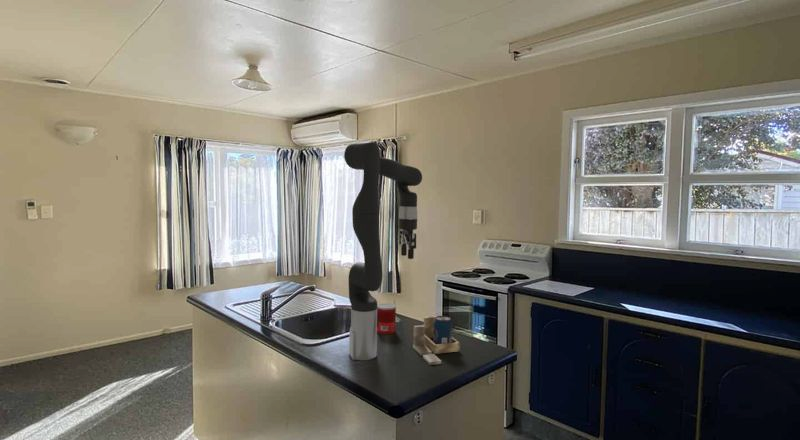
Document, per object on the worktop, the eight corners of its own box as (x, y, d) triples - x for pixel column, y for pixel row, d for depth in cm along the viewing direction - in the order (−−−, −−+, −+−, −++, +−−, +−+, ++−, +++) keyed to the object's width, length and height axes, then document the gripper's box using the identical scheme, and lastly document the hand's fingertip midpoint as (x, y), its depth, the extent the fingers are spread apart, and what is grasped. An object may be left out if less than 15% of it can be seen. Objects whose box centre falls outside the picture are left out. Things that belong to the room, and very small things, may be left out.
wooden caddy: (434, 353, 151) (435, 331, 151) (417, 337, 168) (418, 317, 167) (459, 351, 154) (460, 329, 154) (440, 335, 171) (441, 315, 170)
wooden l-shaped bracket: (429, 365, 142) (430, 341, 142) (412, 347, 158) (413, 326, 158) (441, 363, 143) (441, 340, 143) (423, 346, 160) (423, 325, 159)
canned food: (398, 332, 175) (399, 306, 174) (382, 335, 170) (383, 309, 169) (388, 327, 181) (389, 302, 180) (373, 330, 176) (373, 304, 176)
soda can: (431, 346, 160) (432, 315, 159) (449, 345, 161) (450, 315, 160) (434, 353, 153) (435, 320, 152) (453, 352, 154) (454, 320, 153)
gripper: (394, 216, 175) (393, 254, 176) (404, 218, 162) (404, 260, 163) (410, 216, 178) (409, 254, 179) (423, 218, 164) (421, 259, 165)
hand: (407, 257), depth 171 cm, fingers open, 8 cm apart
